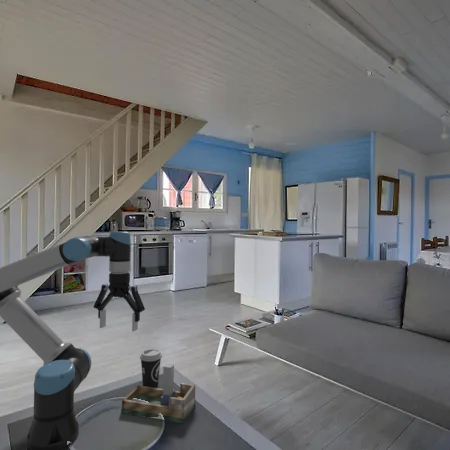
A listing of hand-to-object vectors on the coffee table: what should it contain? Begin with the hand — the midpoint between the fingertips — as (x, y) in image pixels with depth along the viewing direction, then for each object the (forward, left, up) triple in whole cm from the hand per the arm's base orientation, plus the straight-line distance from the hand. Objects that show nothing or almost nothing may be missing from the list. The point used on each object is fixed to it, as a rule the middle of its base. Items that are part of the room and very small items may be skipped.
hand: (118, 328), depth 120 cm
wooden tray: (+14, +7, -32) cm, 35 cm away
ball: (+22, +7, -28) cm, 37 cm away
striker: (+18, +7, -30) cm, 35 cm away
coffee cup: (+3, +22, -32) cm, 39 cm away
